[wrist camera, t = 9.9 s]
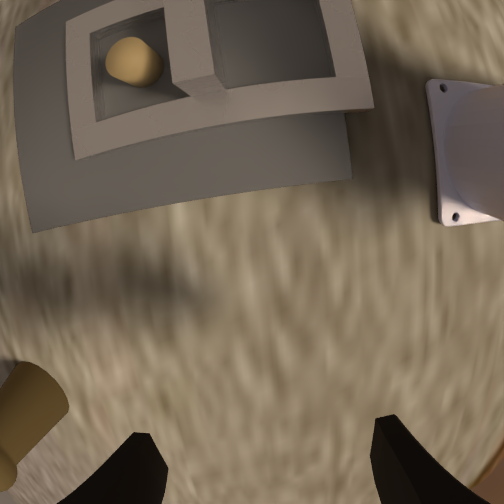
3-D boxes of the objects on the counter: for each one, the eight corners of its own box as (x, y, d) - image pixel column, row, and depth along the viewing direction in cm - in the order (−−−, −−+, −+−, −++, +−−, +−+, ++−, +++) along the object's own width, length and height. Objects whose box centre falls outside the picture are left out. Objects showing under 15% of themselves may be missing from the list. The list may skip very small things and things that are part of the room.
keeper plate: (300, -53, 11) (305, -86, 8) (347, 177, 15) (366, 183, 12) (24, 30, 13) (-7, 19, 10) (42, 229, 17) (8, 243, 14)
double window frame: (334, -27, 11) (349, -69, 7) (366, 111, 13) (398, 98, 10) (76, 27, 12) (36, 6, 9) (87, 159, 15) (40, 163, 11)
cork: (5, 363, 21) (-66, 436, 10) (43, 358, 20) (-37, 449, 10) (39, 415, 22) (-16, 492, 12) (81, 417, 22) (24, 512, 11)
